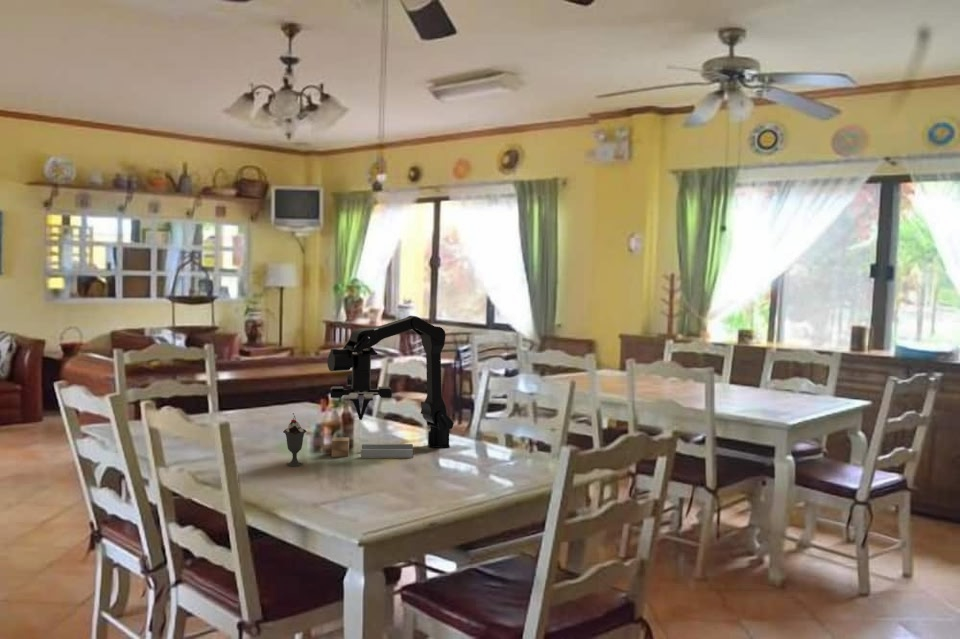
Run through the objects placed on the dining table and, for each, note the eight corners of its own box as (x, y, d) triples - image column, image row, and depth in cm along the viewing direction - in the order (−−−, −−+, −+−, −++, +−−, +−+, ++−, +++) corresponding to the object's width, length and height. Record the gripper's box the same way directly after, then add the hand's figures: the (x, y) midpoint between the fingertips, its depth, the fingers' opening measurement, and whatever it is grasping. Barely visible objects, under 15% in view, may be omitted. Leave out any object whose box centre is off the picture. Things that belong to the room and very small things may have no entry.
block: (348, 453, 266) (349, 437, 266) (348, 456, 261) (348, 440, 261) (332, 453, 266) (333, 437, 265) (331, 456, 261) (331, 440, 260)
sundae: (293, 460, 254) (294, 411, 253) (310, 464, 250) (311, 413, 249) (278, 465, 248) (278, 414, 247) (295, 468, 245) (295, 417, 244)
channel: (412, 451, 270) (412, 444, 270) (413, 457, 262) (413, 449, 261) (361, 451, 268) (362, 443, 268) (360, 457, 260) (360, 449, 260)
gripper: (390, 366, 272) (389, 415, 273) (331, 366, 269) (330, 415, 270) (392, 371, 261) (391, 421, 262) (330, 370, 258) (330, 421, 259)
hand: (360, 419), depth 263 cm, fingers closed
